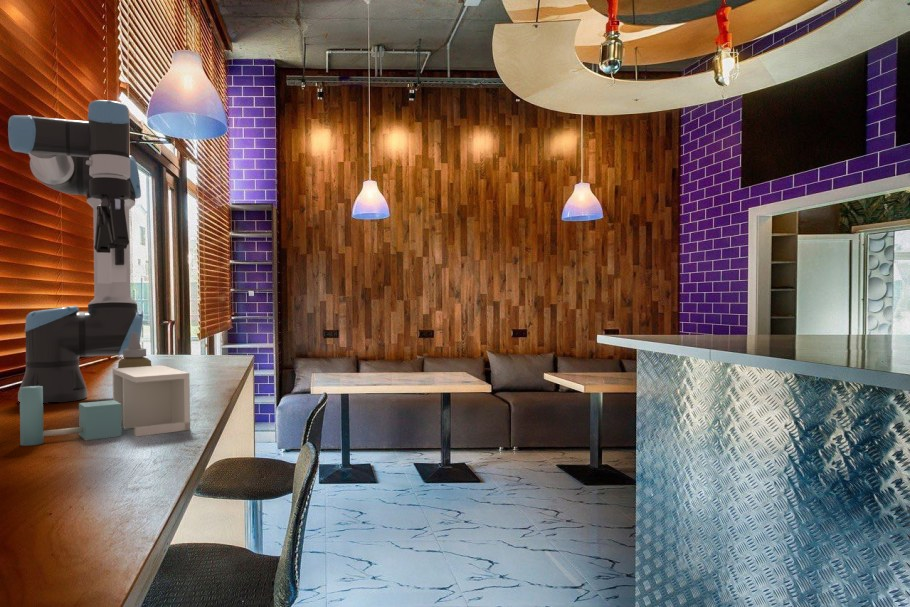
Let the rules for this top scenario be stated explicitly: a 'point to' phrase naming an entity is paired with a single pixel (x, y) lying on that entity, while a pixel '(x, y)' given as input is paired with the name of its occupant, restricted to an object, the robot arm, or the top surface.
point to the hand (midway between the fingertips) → (111, 283)
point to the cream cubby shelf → (153, 399)
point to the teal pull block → (93, 424)
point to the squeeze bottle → (134, 354)
